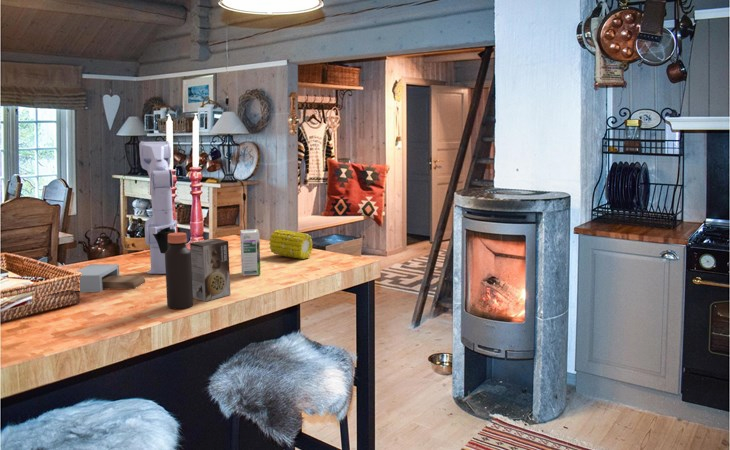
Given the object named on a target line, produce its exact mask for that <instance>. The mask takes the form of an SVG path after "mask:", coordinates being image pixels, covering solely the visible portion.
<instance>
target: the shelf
mask: <svg viewBox="0 0 730 450" xmlns="http://www.w3.org/2000/svg"><path fill="white" fill-rule="evenodd" d="M76 271H77V272H81V273H82V276H80V278H79V280H80V292H79V293H101V292H102V291H103V289H104V288H102V277H104V276H105V275H113V276H120V265H119V264H116V263H115V264H106V263H105V264H102V263H101V264H97V263H94V264H93V263H92V264H88V265H87V266H84V267H83V268H80V269H79V270H76Z"/></svg>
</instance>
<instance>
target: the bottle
mask: <svg viewBox="0 0 730 450" xmlns="http://www.w3.org/2000/svg"><path fill="white" fill-rule="evenodd" d="M187 236H188V235H187V233H186V232H178V231H176V233H170V234H168V244H169V249H168V250H167V251H166V252H165V269H166V274H165V286H166V287H165V288H166V306H167V307H168V308H169V309H171V310H184V309H189V308H191V307H192V306H193V305H194V298H193V289H192V264H191V251H190V248H188V247H187V244H188V243H187V241H188V237H187Z"/></svg>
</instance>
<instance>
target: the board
mask: <svg viewBox="0 0 730 450" xmlns="http://www.w3.org/2000/svg"><path fill="white" fill-rule="evenodd" d="M144 282H145V283H146V280H145V275H119V276H113V275H105V276H104V277H102V289H108V288H110V290H111V289H113V290H114V289H115V290H117V289H119V290H135V289H137V288H138V287H140V286H141V284H142V285H143V284H145V283H144ZM136 287H137V288H136Z"/></svg>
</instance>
